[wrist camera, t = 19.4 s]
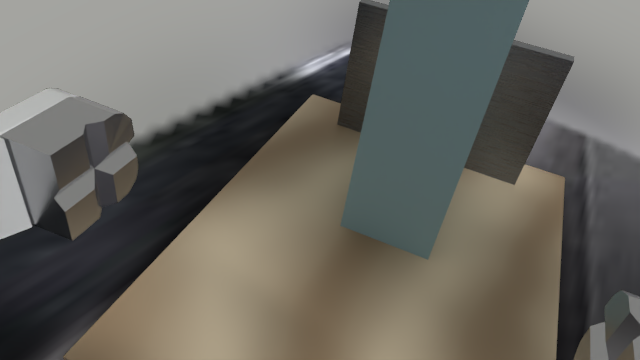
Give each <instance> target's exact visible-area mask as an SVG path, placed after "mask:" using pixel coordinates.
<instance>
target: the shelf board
mask: <svg viewBox="0 0 640 360" xmlns="http://www.w3.org/2000/svg"><path fill="white" fill-rule="evenodd" d="M340 106H341V103H338V102H334V101H331V100H328V99H325V98H322V97H319V96H316V95H312V96H311V97H310V98H309V99H308V100H307V101H306V102H305V103H304V104H303V105H302V106H301V107H300V108H299V109H298V110H297V111H296V112H295V113H294V114H293V116H292V117H291V118H290V119H289V120H288V121H287V122H286V123H285V124H284V125H283V126H282V127H281V128H280V129H279V130H278V131H277V132H276V133H275V134H274V135H273V137H272V138H271V139H270V140H269V141H268V142H267V143H266V144H265V145H264V146H263V147H262V148H261V149H260V150H259V151H258V152H257V153H256V154H255V155H254V156H253V158H252V159H251V160H250V161H249V162H248V163H247V164H246V165H245V166H244V167H243V168H242V169H241V170H240V171H239V172H238V173H237V174H236V175H235V176H234V178H233V179H232V180H231V181H230V182H229V183H228V184H227V185H226V186H225V187H224V188H223V189H222V190H221V191H220V192H219V193H218V194H217V195H216V196H215V197H214V199H213V200H212V201H211V202H210V203H209V204H208V205H207V206H206V207H205V208H204V209H203V210H202V211H201V212H200V213H199V214H198V215H197V216H196V217H195V218H194V220H193V221H192V222H191V223H190V224H189V225H188V226H187V227H186V228H185V229H184V230H183V231H182V232H181V233H180V234H179V235H178V236H177V237H176V238H175V239H174V241H173V242H172V243H171V244H170V245H169V246H168V247H167V248H166V249H165V250H164V251H163V252H162V253H161V254H160V255H159V256H158V257H157V258H156V259H155V260H154V262H153V263H152V264H151V265H150V266H149V267H148V268H147V269H146V270H145V271H144V272H143V273H142V274H141V275H140V276H139V277H138V278H137V279H136V280H135V282H134V283H133V284H132V285H131V286H130V287H129V288H128V289H127V290H126V291H125V292H124V293H123V294H122V295H121V296H120V297H119V298H118V299H117V300H116V301H115V303H114V304H113V305H112V306H111V307H110V308H109V309H108V310H107V311H106V312H105V313H104V314H103V315H102V316H101V317H100V318H99V319H98V320H97V321H96V322H95V324H94V325H93V326H92V327H91V328H90V329H89V330H88V331H87V332H86V333H85V334H84V335H83V336H82V337H81V338H80V339H79V340H78V341H77V342H76V343H75V345H74V346H73V347H72V348H71V349H70V350H69V351H68V352H67V353H66V354H65V355H64V356H63V358H64V360H556V350H557V330H558V309H559V288H560V268H561V247H562V227H563V206H564V186H565V177H562V176H559V175H556V174H553V173H550V172H547V171H544V170H541V169H538V168H534V167H531V166H528V165H525V164H524V166H523V169H522V171H521V173H520V175H519V177H518V179H517V181H516V183H515V185H513V184H510V183H507V182H504V181H501V180H498V179H495V178H492V177H490V176H487V175H484V174H481V173H478V172H475V171H472V170H469V169H466V168H464V169H463V171H462V174H461V176H460V179H459V181H458V184H457V187H456V189H455V192H454V194H453V197H452V199H451V202H450V205H449V207H448V210H447V212H446V215H445V217H444V220H443V223H442V225H441V228H440V230H439V233H438V235H437V238H436V240H435V243H434V246H433V248H432V251H431V253H430V256H429V258H428V260H427V259H425V258H422V257H420V256H417V255H414V254H412V253H409V252H407V251H404V250H402V249H399V248H396V247H394V246H391V245H389V244H386V243H384V242H381V241H378V240H376V239H373V238H371V237H368V236H366V235H363V234H360V233H358V232H355V231H353V230H350V229H348V228H345V227H343V226H340V225H341V221H342V216H343V212H344V207H345V202H346V198H347V193H348V189H349V184H350V180H351V175H352V171H353V166H354V162H355V157H356V152H357V148H358V143H359V139H360V134H361V133H360V132H357V131H354V130H352V129H349V128H346V127H343V126H340V125H337V122H338V117H339V111H340Z"/></svg>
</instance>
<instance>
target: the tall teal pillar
mask: <svg viewBox="0 0 640 360" xmlns="http://www.w3.org/2000/svg"><path fill="white" fill-rule="evenodd" d="M528 2H529V0H390V2H389V7H388V11H387V16H386V20H385V25H384V30H383V34H382V39H381V43H380V48H379V52H378V57H377V61H376V66H375V71H374V75H373V80H372V84H371V89H370V93H369V98H368V102H367V107H366V111H365V116H364V121H363V125H362V130H361V134H360V139H359V143H358V148H357V152H356V157H355V162H354V166H353V171H352V175H351V180H350V184H349V189H348V193H347V198H346V202H345V207H344V212H343V216H342V221H341V225H340V226H343V227H345V228H348V229H350V230H353V231H355V232H358V233H360V234H363V235H366V236H368V237H371V238H373V239H376V240H378V241H381V242H384V243H386V244H389V245H391V246H394V247H396V248H399V249H402V250H404V251H407V252H409V253H412V254H414V255H417V256H420V257H422V258H425V259H427V260H428V258H429V256H430V253H431V251H432V248H433V246H434V243H435V240H436V238H437V235H438V233H439V230H440V228H441V225H442V223H443V220H444V217H445V215H446V212H447V210H448V207H449V205H450V202H451V199H452V197H453V194H454V192H455V189H456V187H457V184H458V181H459V179H460V176H461V174H462V171H463V169H464V166H465V164H466V161H467V158H468V156H469V153H470V151H471V148H472V146H473V143H474V140H475V138H476V135H477V133H478V130H479V128H480V125H481V122H482V120H483V117H484V115H485V112H486V110H487V107H488V105H489V102H490V99H491V97H492V94H493V92H494V89H495V87H496V84H497V81H498V79H499V76H500V74H501V71H502V69H503V66H504V64H505V61H506V58H507V56H508V53H509V51H510V48H511V46H512V43H513V40H514V38H515V35H516V33H517V30H518V27H519V25H520V22H521V20H522V17H523V15H524V12H525V10H526V7H527V4H528Z"/></svg>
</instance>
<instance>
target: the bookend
mask: <svg viewBox="0 0 640 360" xmlns="http://www.w3.org/2000/svg"><path fill="white" fill-rule="evenodd" d="M388 7H389V5H386V4H382V3H379V2H375V1H371V0H361V1H360V2H359V8H358V13H357V18H356V24H355V29H354V35H353V40H352V46H351V51H350V57H349V62H348V68H347V73H346V78H345V84H344V89H343V95H342V100H341V106H340V111H339V117H338V122H337V125H340V126H343V127H346V128H349V129H352V130H354V131H357V132H360V133H361V130H362V125H363V121H364V116H365V111H366V107H367V102H368V98H369V93H370V89H371V84H372V80H373V75H374V71H375V66H376V61H377V57H378V52H379V48H380V43H381V39H382V34H383V30H384V25H385V20H386V16H387V11H388ZM573 62H574V57H573V56H570V55H566V54H562V53H559V52H555V51H552V50H548V49H544V48H541V47H537V46H533V45H530V44H526V43H522V42H519V41H516V40H513V43H512V46H511V48H510V51H509V53H508V56H507V58H506V61H505V64H504V66H503V69H502V71H501V74H500V76H499V79H498V81H497V84H496V87H495V89H494V92H493V94H492V97H491V99H490V102H489V105H488V107H487V110H486V112H485V115H484V117H483V120H482V122H481V125H480V128H479V130H478V133H477V135H476V138H475V140H474V143H473V146H472V148H471V151H470V153H469V156H468V158H467V161H466V164H465V166H464V168H466V169H469V170H472V171H475V172H478V173H481V174H484V175H487V176H490V177H492V178H495V179H498V180H501V181H504V182H507V183H510V184H513V185H515V183H516V181H517V179H518V177H519V175H520V173H521V171H522V169H523V166H524V164H525V162H526V160H527V158H528V156H529V154H530V152H531V150H532V148H533V146H534V144H535V142H536V139H537V137H538V135H539V133H540V131H541V129H542V127H543V125H544V123H545V121H546V119H547V117H548V114H549V112H550V110H551V108H552V106H553V104H554V102H555V100H556V98H557V96H558V94H559V91H560V89H561V87H562V85H563V83H564V81H565V79H566V77H567V75H568V73H569V71H570V69H571V67H572V64H573Z"/></svg>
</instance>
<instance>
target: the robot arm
mask: <svg viewBox="0 0 640 360" xmlns="http://www.w3.org/2000/svg"><path fill="white" fill-rule="evenodd" d="M133 137H134V131H133V125H132V120H131V119H130V118H129V117H128V116H127V115H125V114H124V113H122V112H119V111H116V110H114V109H111V108H109V107H106V106H104V105H101V104H98V103H96V102H93V101H90V100H88V99H85V98H83V97H78V96H76V95H74V94H71V93H68V92H65V91H63V90H60V89H55V88H46V89H44V90H43V91H41V92H39V93H37V94H35V95H33V96H31V97H29V98H27V99H25V100H23V101H21V102H19V103H17V104H15V105H13V106H12V107H10V108H8V109H6V110H4V111H2V112H0V239H2V238H5V237H8V236H10V235H13V234H16V233H18V232H21V231H23V230H26V229H29V228H31V227H32V225H34V226H37V227H39V228H42V229H44V230H47V231H49V232H52V233H54V234H57V235H59V236H62V237H64V238H67V239H69V240H72V241H73V240H74V239H75V238H76V237H78V236H79V235H80V234H81V233H82V232H84V231H85V230H86V229H87V228H88V227H89V226H91V225H92V224H93V223H94V222H95V221H97V220H98V219H99V218H100V215H101V209H102V207H104V206H108V205H111V204H115V203H118V202H119V201H120V200H121V199H122V198H123V197H125V196H126V195H127V194H128V193H129V191H130V189H131V188H132V186H133V184H134V182H135V181H136V178H137V172H138V160H137V155H136V154H135V152H134V150H133V149H132V147H131V146H130V144H129V142H130V140H131V139H132V138H133ZM604 309H605V322H603V323H599V324H596V325H593V326H590V327H589V329H588V330H587V332H586V333H585V335H584V336H583V338H582V339H581V341H580V343H579V346H578V349H577V351H576V354H575V356H574V360H640V296H637V295H634V294H631V293H628V292H626V291H623V290H620V291H619V292H618V293H616V294H615V295H613V296H612V298H611V299H610V300H609V302H608V303H607V304H606V306H605V307H604Z"/></svg>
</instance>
